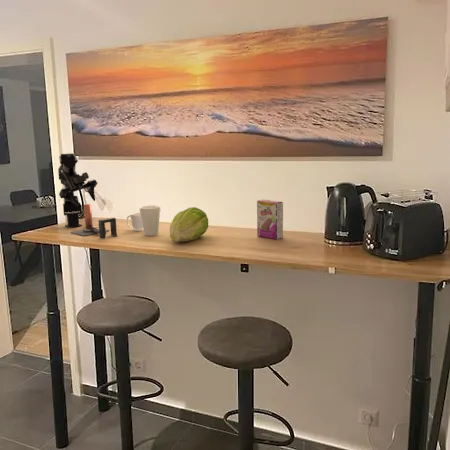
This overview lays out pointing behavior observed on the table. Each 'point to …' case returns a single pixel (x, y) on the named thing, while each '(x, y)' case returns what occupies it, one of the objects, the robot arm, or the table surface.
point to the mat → (81, 233)
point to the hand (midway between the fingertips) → (86, 203)
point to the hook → (89, 220)
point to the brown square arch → (112, 225)
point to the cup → (136, 221)
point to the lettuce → (188, 225)
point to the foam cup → (150, 219)
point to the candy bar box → (270, 219)
